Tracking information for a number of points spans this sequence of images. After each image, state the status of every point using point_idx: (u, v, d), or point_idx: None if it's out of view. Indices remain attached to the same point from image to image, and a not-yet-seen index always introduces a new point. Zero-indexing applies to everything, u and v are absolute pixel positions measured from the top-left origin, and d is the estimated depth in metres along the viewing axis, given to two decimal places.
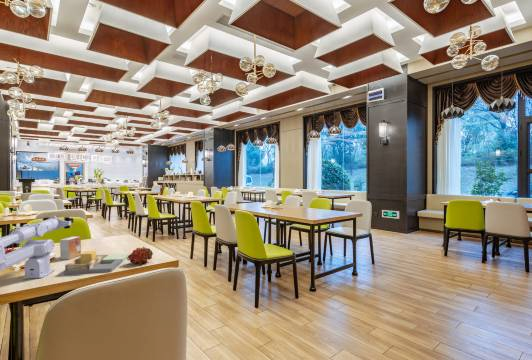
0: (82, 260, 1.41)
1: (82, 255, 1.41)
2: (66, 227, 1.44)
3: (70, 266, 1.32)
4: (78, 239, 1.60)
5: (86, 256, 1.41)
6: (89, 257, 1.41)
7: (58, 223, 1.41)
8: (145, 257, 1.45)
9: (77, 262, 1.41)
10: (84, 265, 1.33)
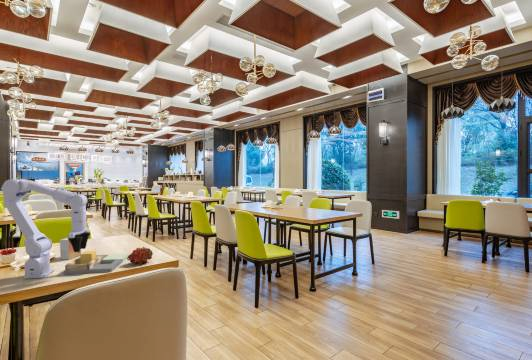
0: (82, 260, 1.41)
1: (82, 255, 1.41)
2: (68, 237, 1.30)
3: (70, 266, 1.32)
4: None
5: (86, 256, 1.41)
6: (89, 257, 1.41)
7: (76, 230, 1.32)
8: (145, 257, 1.45)
9: (77, 262, 1.41)
10: (84, 265, 1.33)
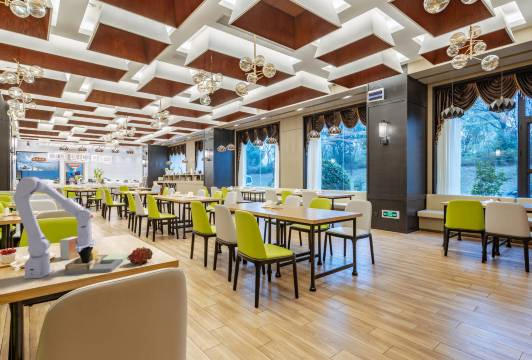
0: None
1: None
2: None
3: (70, 266, 1.32)
4: None
5: None
6: (90, 256, 1.42)
7: (82, 243, 1.37)
8: (145, 257, 1.45)
9: (77, 262, 1.41)
10: (84, 265, 1.33)
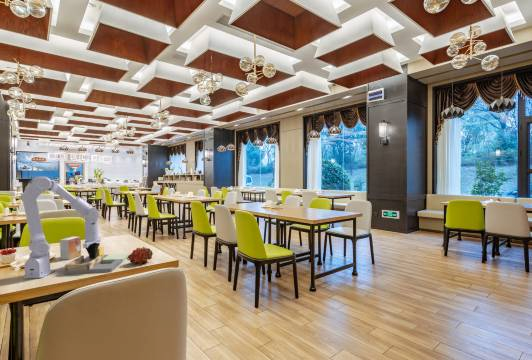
0: None
1: None
2: None
3: (70, 266, 1.32)
4: (78, 239, 1.60)
5: None
6: (97, 252, 1.49)
7: (90, 240, 1.45)
8: (145, 257, 1.45)
9: (77, 262, 1.41)
10: (84, 265, 1.33)
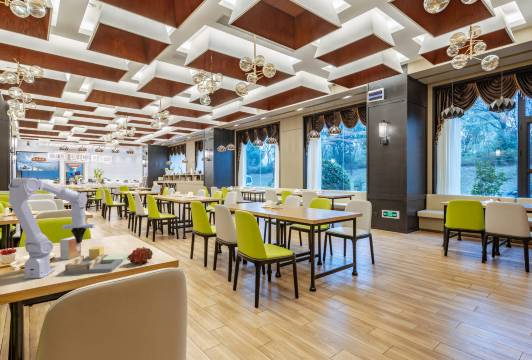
0: (90, 255, 1.49)
1: (90, 250, 1.49)
2: None
3: (70, 266, 1.32)
4: None
5: (94, 251, 1.49)
6: (97, 252, 1.49)
7: (84, 223, 1.50)
8: (145, 257, 1.45)
9: (77, 262, 1.41)
10: (84, 265, 1.33)
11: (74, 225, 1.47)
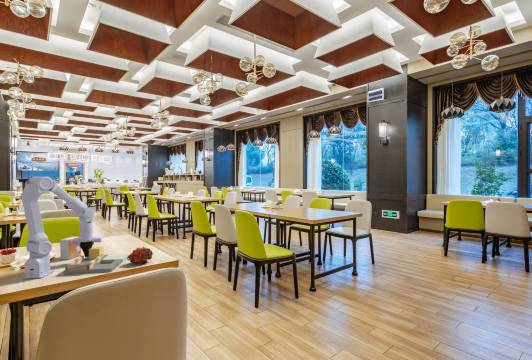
0: (90, 255, 1.49)
1: (90, 250, 1.49)
2: None
3: (70, 266, 1.32)
4: None
5: (94, 251, 1.49)
6: (97, 252, 1.49)
7: (92, 237, 1.51)
8: (145, 257, 1.45)
9: (77, 262, 1.41)
10: (84, 265, 1.33)
11: (82, 239, 1.48)
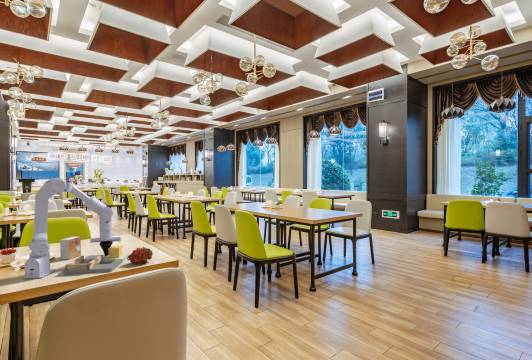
0: (110, 254, 1.50)
1: (110, 249, 1.50)
2: None
3: (70, 266, 1.32)
4: (78, 239, 1.60)
5: (114, 250, 1.51)
6: (116, 251, 1.51)
7: None
8: (145, 257, 1.45)
9: (77, 262, 1.41)
10: (84, 265, 1.33)
11: (102, 239, 1.49)
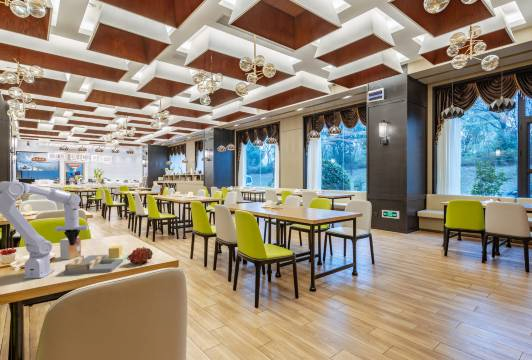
0: (110, 254, 1.50)
1: (110, 249, 1.50)
2: None
3: (70, 266, 1.32)
4: (78, 239, 1.60)
5: (114, 250, 1.51)
6: (116, 251, 1.51)
7: (78, 224, 1.45)
8: (145, 257, 1.45)
9: (77, 262, 1.41)
10: (84, 265, 1.33)
11: (67, 227, 1.42)
